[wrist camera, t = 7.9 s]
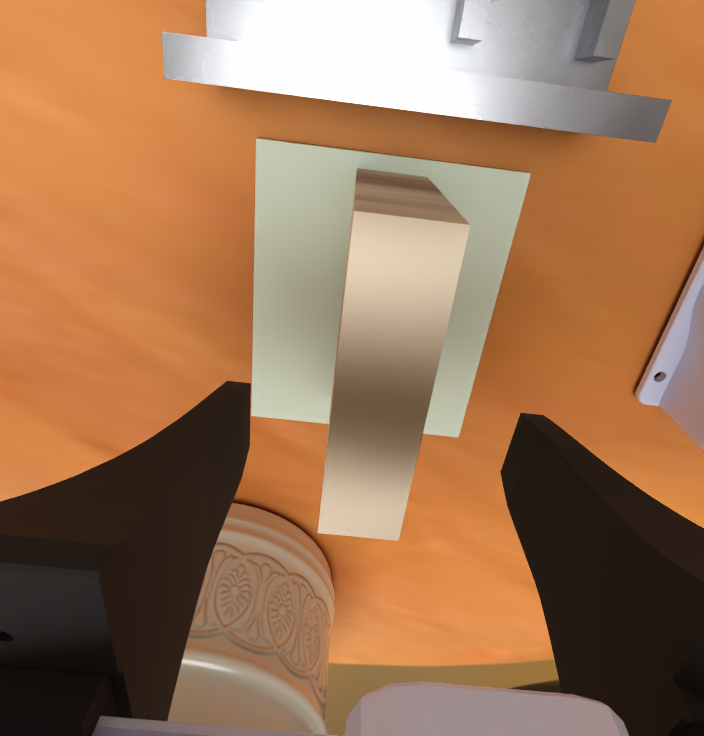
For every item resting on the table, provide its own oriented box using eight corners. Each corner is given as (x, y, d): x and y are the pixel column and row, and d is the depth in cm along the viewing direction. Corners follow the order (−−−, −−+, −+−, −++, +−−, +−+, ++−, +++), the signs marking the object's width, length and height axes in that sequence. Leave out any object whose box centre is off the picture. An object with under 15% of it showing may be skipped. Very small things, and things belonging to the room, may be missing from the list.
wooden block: (386, 404, 22) (398, 540, 15) (331, 398, 22) (317, 533, 15) (427, 176, 18) (470, 224, 11) (356, 167, 18) (353, 211, 11)
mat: (457, 432, 24) (458, 437, 23) (253, 411, 23) (251, 415, 23) (528, 172, 18) (531, 173, 18) (258, 137, 18) (256, 138, 17)
